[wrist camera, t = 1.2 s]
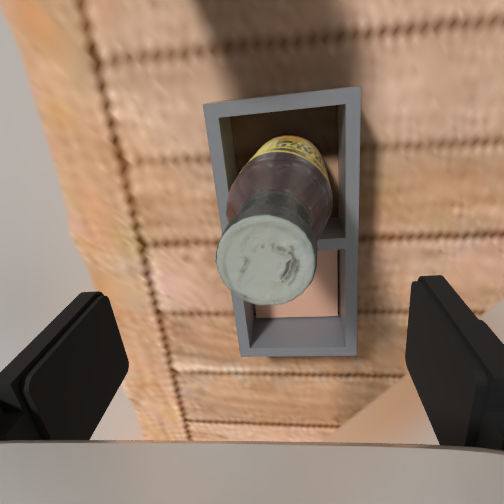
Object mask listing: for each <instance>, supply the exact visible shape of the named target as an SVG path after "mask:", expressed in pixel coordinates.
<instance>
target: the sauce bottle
mask: <svg viewBox="0 0 504 504" xmlns="http://www.w3.org/2000/svg"><path fill="white" fill-rule="evenodd" d="M332 207H333V197H332V191H331V186H330V182H329V179H328V174H327V170H326V168H325V164H324V160H323V158H322V155H321V154H320V152H319V150H318V149H317V148H316V147H315V146H314V145H313V144H312V143H311V142H310V141H308V140H307V139H305V138H303V137H300V136H296V135H281V136H277V137H275V138H272V139H271V140H269V141H268V142H266V143H265V144H264V145H263V146H262V147H261V148H260V149H259V150H258V151H257V152H256V154H255V155H254V156H253V157H252V158H251V159H250V160H249V162H248V163H247V164H246V165H245V166H244V167H243V168H242V170H241V171H240V173H239V175H238V176H237V178H236V180H235V181H234V183H233V184H232V186H231V189H230V191H229V194H228V199H227V207H226V216H227V219H228V222H229V224H228V225H227V226H226V228H225V230H224V232H223V234H222V236H221V238H220V241H219V243H218V246H217V252H216V264H217V267H218V272H219V274H220V277H221V278H222V280H223V282H224V284H225V285H226V286H227V287H228V288H229V289H230V290H231V291H232V292H233V293H235V294H236V295H237V296H239V297H240V298H241V299H243V300H244V301H247V302H249V303H252V304H256V305H261V306H263V305H281V304H284V303H287V302H289V301H292V300H294V299H295V298H296V297H298V296H299V295H301V294H302V293H303V292H304V291H305V289H306V288H307V287H308V286H309V285H310V284H311V282H312V281H313V278H314V275H315V271H316V267H317V253H318V246H317V242H318V240H319V238H320V236H321V234H322V232H323V229H324V227H325V225H326V223H327V221H328V219H329V217H330V215H331V212H332Z"/></svg>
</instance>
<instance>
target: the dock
mask: <svg viewBox="0 0 504 504" xmlns="http://www.w3.org/2000/svg"><path fill="white" fill-rule="evenodd" d="M332 105H338V179H339V217H335V218H329V219H328V221H327V223H326V225H325V227H324V229H323V232H322V234H321V236H320V238H319V240H318V242H317V246H318V253H317V267H316V271H315V275H314V278H313V281H312V282H311V284H310V285H309V286H308V287H307V288H306V289H305V291H304V292H303V293H302V294H301V295H299V296H298V297H296V298H295V299H294V300H292V301H289V302H287V303H284V304H281V305H263V306H261V305H256V304H255V310H256V318H255V313H254V305H253V304H252V303H249V302H247V301H244V300H243V299H241V298H240V297H239V296H237V295H236V294H235V293H233V292H232V291H231V295H232V301H233V308H234V315H235V321H236V328H237V334H238V341H239V348H240V354H241V357H262V356H357V295H358V235H359V174H360V113H361V86H349V87H340V88H331V89H322V90H314V91H305V92H296V93H287V94H279V95H270V96H261V97H252V98H244V99H235V100H226V101H217V102H212V103H207V104H203V109H204V116H205V122H206V129H207V136H208V142H209V149H210V156H211V162H212V169H213V175H214V182H215V189H216V195H217V202H218V209H219V215H220V222H221V228H222V234H223V232H224V230H225V228H226V226H227V225H228V224H229V222H228V219H227V216H226V207H227V199H228V194H229V191H230V189H231V186H232V184H233V183H234V181H235V180H236V178H237V168H236V160H235V152H234V143H233V135H232V127H231V119H230V116H239V115H248V114H257V113H267V112H276V111H285V110H295V109H304V108H313V107H322V106H332ZM337 250H339V310H340V316H338V276H337Z"/></svg>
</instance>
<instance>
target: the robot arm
mask: <svg viewBox="0 0 504 504" xmlns="http://www.w3.org/2000/svg"><path fill="white" fill-rule="evenodd" d="M405 359H406V365H407V368H408V371H409V373H410V375H411V378H412V380H413V383H414V385H415V387H416V390H417V392H418V394H419V397H420V399H421V401H422V404H423V406H424V408H425V411H426V413H427V415H428V418H429V420H430V422H431V425H432V427H433V430H434V432H435V434H436V437H437V439H438V441H439V444H440V445H423V444H383V443H334V442H333V443H332V442H331V443H330V442H265V441H154V440H134V441H133V440H130V441H129V440H126V441H125V440H119V441H118V440H89V439H90V438H91V436H92V434H93V432H94V431H95V429H96V427H97V425H98V424H99V422H100V420H101V418H102V416H103V415H104V413H105V411H106V409H107V408H108V406H109V404H110V402H111V401H112V399H113V397H114V395H115V393H116V392H117V389H118V388H119V386H120V385H121V383H122V381H123V379H124V377H125V376H126V374H127V372H128V368H129V362H128V358H127V355H126V352H125V348H124V345H123V342H122V339H121V336H120V332H119V329H118V326H117V323H116V320H115V317H114V313H113V310H112V307H111V304H110V301H109V298H108V297H107V296H104V295H103V293H102V292H83V293H80V294H79V295H78V296H77V297H76V298H75V299H74V300H73V301H72V302H71V303H70V304H69V305H68V306H67V307H66V308H65V309H64V310H63V311H62V312H61V313H60V314H59V315H58V316H57V317H56V318H55V319H54V320H53V321H52V322H51V323H50V324H49V325H48V326H47V327H46V328H45V329H44V330H43V331H42V332H41V333H40V334H39V335H38V336H37V337H36V338H35V339H34V340H33V341H32V342H31V343H30V344H29V345H28V346H27V347H26V348H25V349H24V350H23V351H22V352H21V353H19V354H18V356H17V357H15V358H14V360H13V361H11V363H9V364H8V365H7V366H6V367H5V368H4V369H3V370H2V371H1V372H0V504H504V344H503V343H502V342H501V341H500V340H499V339H498V338H497V336H496V335H495V334H494V333H493V332H492V330H491V329H490V328H489V327H488V325H487V324H486V323H485V322H483V321H482V320H479V319H478V318H477V317H476V316H475V315H474V314H473V312H472V311H471V310H470V309H469V307H468V306H467V305H466V304H465V303H464V301H463V300H462V299H461V298H460V296H459V295H458V294H457V293H456V292H455V290H454V289H453V288H452V287H451V285H450V284H449V283H448V282H447V281H446V279H445V278H444V277H443V276H442V275H436V276H420V277H419V279H418V281H414V282H412V285H411V295H410V307H409V319H408V330H407V342H406V353H405Z"/></svg>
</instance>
